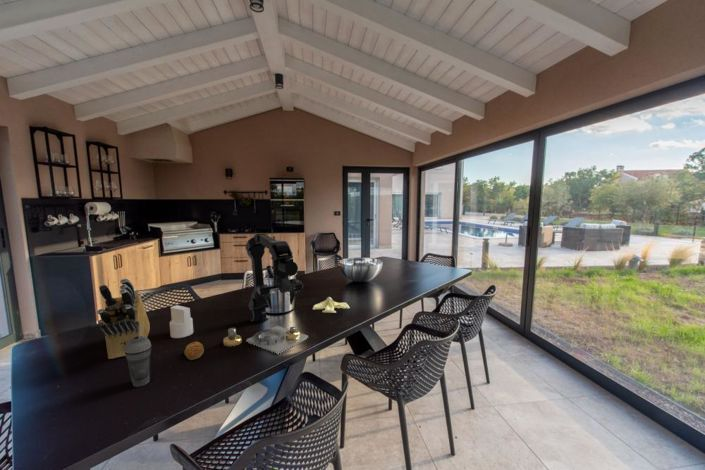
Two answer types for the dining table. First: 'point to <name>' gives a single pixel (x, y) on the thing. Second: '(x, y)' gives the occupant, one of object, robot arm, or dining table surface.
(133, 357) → the beverage cup
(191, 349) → the pastry
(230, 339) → the gear
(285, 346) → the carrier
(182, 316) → the cylinder with rectangular tab
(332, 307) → the bird figurine
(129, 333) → the knife block
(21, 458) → the dining table surface
